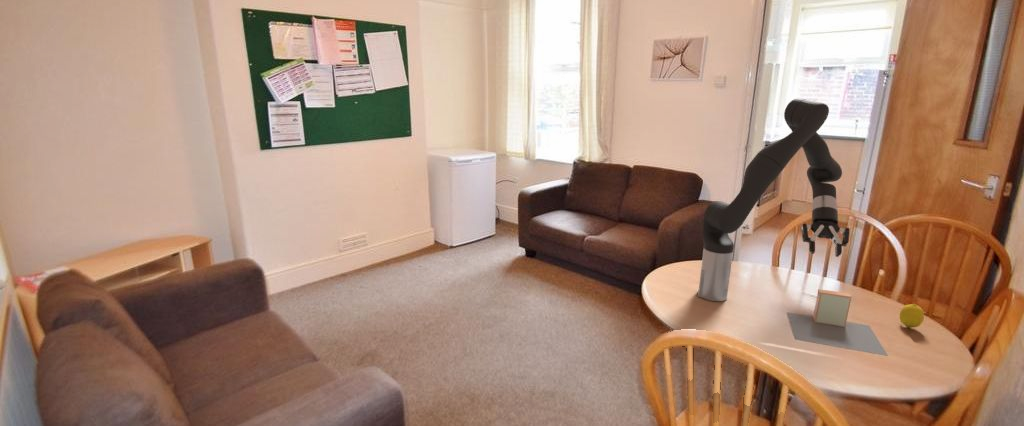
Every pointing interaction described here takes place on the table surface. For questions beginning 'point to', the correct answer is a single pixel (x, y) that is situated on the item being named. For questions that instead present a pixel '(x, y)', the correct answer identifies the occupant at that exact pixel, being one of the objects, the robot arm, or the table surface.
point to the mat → (835, 334)
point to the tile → (832, 307)
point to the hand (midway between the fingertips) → (825, 254)
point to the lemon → (911, 315)
